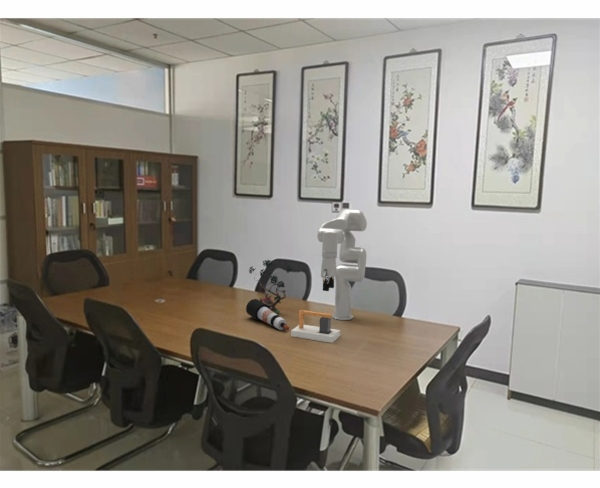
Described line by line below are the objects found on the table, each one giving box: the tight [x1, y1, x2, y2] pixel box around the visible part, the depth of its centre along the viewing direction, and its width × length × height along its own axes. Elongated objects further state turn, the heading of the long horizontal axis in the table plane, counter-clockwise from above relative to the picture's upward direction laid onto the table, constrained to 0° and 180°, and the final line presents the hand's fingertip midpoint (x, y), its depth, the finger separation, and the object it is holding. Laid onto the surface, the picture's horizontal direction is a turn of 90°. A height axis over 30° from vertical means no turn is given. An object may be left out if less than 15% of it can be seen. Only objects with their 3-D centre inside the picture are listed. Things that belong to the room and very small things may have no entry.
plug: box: [319, 317, 332, 334], centre depth 235 cm, size 4×4×10 cm
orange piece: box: [298, 309, 333, 328], centre depth 237 cm, size 17×2×9 cm, turn 67°
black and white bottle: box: [245, 298, 291, 331], centre depth 258 cm, size 10×34×10 cm, turn 35°
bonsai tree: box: [248, 259, 293, 315], centre depth 284 cm, size 35×24×32 cm
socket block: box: [290, 324, 341, 344], centre depth 237 cm, size 12×22×4 cm, turn 67°
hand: (328, 289), depth 238 cm, fingers open, 6 cm apart
